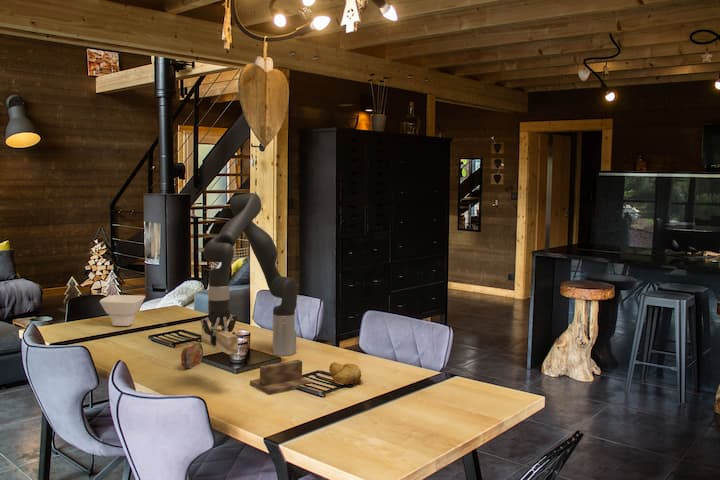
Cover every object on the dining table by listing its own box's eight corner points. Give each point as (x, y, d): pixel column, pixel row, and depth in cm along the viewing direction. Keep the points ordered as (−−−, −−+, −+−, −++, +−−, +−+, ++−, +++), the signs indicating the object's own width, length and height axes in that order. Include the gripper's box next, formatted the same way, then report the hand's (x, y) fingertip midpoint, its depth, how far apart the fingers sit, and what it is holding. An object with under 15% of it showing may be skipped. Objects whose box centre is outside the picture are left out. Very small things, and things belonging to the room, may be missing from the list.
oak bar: (210, 340, 250) (210, 324, 250) (237, 352, 233) (237, 336, 232) (201, 341, 248) (201, 325, 247) (228, 354, 231) (228, 337, 230)
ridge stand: (292, 376, 253) (292, 356, 252) (312, 385, 242) (312, 364, 241) (249, 384, 242) (250, 363, 241) (269, 394, 230) (269, 372, 230)
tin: (187, 371, 257) (187, 349, 256) (179, 370, 258) (179, 349, 257) (203, 361, 272) (203, 340, 271) (196, 360, 272) (196, 340, 272)
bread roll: (353, 377, 254) (354, 356, 253) (369, 383, 246) (370, 362, 246) (326, 383, 246) (326, 361, 245) (342, 389, 238) (342, 367, 238)
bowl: (135, 330, 324) (135, 302, 322) (96, 329, 324) (95, 301, 323) (148, 322, 342) (148, 295, 341) (111, 321, 342) (110, 294, 341)
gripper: (231, 294, 246) (232, 340, 248) (196, 298, 237) (196, 345, 239) (241, 297, 240) (241, 344, 242) (205, 301, 231) (205, 349, 233)
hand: (219, 344), depth 240 cm, fingers closed on oak bar, 3 cm apart
